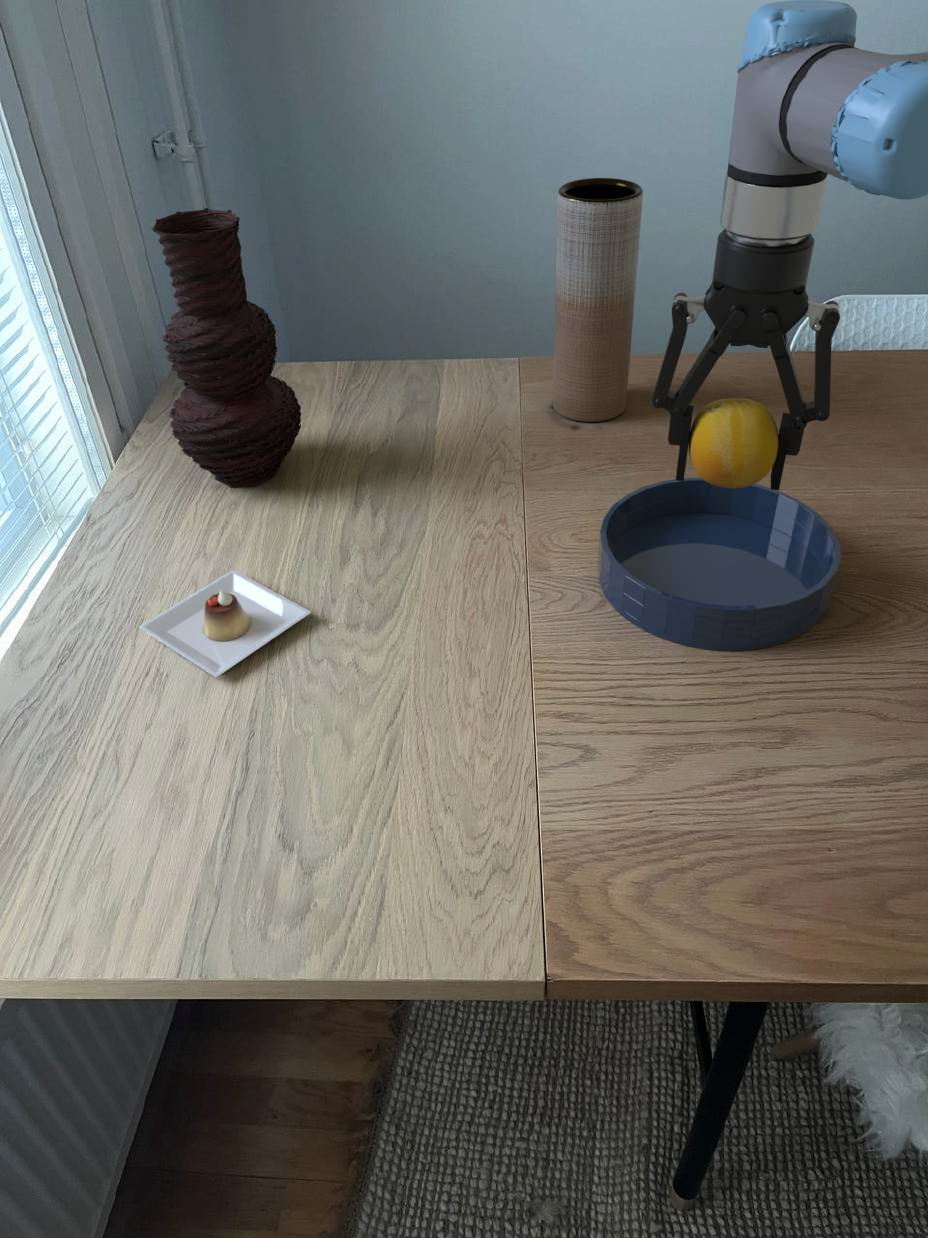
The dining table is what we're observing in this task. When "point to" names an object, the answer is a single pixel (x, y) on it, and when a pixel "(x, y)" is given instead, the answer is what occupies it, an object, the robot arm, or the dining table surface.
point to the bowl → (717, 564)
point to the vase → (223, 355)
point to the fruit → (733, 442)
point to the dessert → (224, 622)
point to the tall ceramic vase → (595, 296)
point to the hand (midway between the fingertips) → (727, 477)
